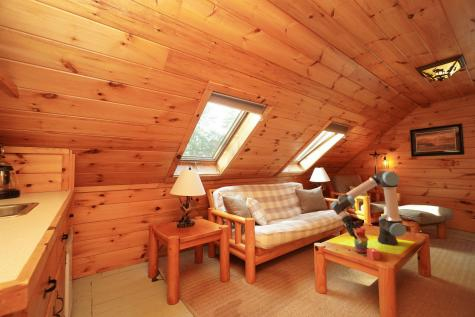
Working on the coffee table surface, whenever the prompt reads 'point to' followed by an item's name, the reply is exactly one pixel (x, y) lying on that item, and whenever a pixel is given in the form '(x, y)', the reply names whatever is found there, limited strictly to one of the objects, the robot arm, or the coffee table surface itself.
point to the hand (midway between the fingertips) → (364, 241)
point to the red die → (373, 254)
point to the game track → (361, 252)
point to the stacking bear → (363, 245)
